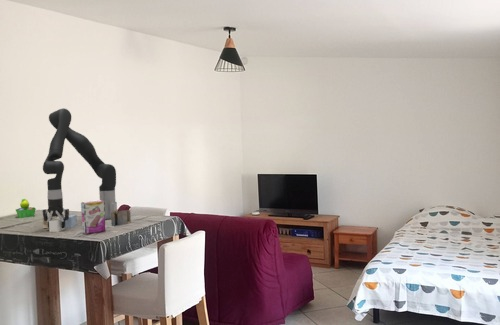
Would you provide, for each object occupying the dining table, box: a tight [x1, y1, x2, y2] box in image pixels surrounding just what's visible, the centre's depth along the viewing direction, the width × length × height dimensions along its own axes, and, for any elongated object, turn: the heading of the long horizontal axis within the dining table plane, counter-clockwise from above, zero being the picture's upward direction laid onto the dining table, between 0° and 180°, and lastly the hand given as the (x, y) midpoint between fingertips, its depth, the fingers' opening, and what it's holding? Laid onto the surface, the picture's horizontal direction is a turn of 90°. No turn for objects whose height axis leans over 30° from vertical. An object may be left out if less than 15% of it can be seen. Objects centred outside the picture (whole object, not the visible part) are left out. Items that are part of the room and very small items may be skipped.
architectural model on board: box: [110, 208, 132, 227], centre depth 282 cm, size 11×3×10 cm, turn 142°
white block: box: [48, 217, 65, 233], centre depth 269 cm, size 4×8×6 cm, turn 178°
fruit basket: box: [15, 198, 37, 219], centre depth 318 cm, size 11×9×11 cm
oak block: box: [42, 215, 58, 229], centre depth 279 cm, size 4×8×6 cm, turn 178°
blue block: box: [64, 214, 78, 229], centre depth 279 cm, size 4×8×6 cm, turn 178°
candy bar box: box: [80, 199, 106, 235], centre depth 260 cm, size 11×5×16 cm, turn 131°
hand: (56, 228), depth 269 cm, fingers open, 6 cm apart
